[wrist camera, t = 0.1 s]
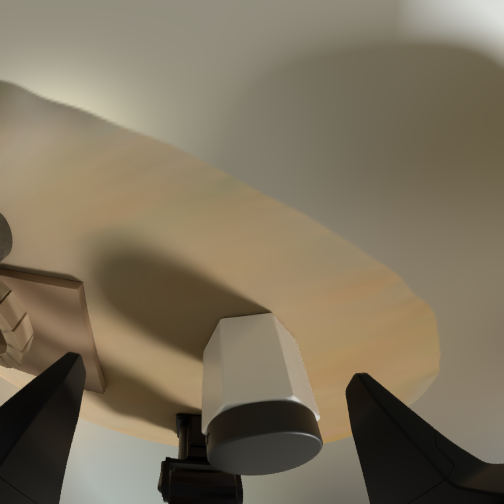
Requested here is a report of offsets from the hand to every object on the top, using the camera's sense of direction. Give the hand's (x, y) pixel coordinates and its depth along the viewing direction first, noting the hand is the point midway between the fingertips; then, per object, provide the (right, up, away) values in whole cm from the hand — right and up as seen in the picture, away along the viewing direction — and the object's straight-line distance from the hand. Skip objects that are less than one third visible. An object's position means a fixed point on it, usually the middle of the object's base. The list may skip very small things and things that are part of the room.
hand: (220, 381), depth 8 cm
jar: (+1, -5, +19) cm, 20 cm away
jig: (-24, -4, +16) cm, 29 cm away
